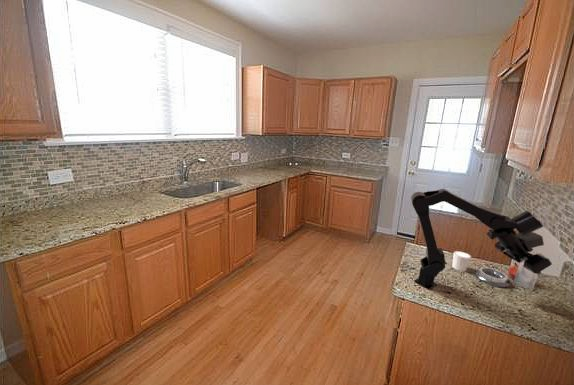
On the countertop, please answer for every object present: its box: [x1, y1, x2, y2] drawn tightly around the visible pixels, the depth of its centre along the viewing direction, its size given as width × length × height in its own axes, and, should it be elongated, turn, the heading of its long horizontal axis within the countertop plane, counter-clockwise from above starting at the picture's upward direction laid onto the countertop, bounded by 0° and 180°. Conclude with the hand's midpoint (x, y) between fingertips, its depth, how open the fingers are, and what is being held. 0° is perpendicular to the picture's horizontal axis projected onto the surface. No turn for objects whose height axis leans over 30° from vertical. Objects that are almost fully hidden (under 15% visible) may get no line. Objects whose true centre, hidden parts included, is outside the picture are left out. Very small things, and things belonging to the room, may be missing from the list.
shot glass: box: [451, 250, 472, 272], centre depth 121 cm, size 7×7×7 cm
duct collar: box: [474, 266, 511, 289], centre depth 114 cm, size 12×12×3 cm
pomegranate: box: [507, 262, 519, 281], centre depth 113 cm, size 7×7×10 cm
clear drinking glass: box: [513, 250, 545, 290], centre depth 97 cm, size 6×6×13 cm
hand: (532, 269), depth 97 cm, fingers closed on clear drinking glass, 6 cm apart
